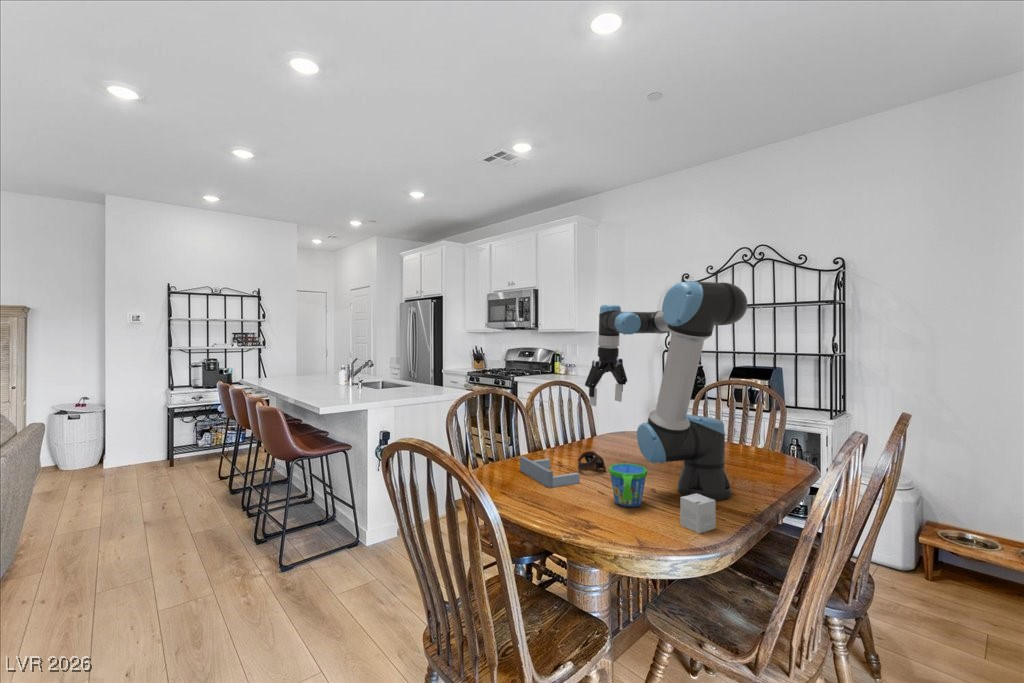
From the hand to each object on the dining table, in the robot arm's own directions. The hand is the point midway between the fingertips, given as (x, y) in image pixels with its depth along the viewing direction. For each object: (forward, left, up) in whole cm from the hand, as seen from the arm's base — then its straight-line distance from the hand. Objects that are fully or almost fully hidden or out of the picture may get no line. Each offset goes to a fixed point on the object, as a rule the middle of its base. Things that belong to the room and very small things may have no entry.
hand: (605, 403), depth 178 cm
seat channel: (-14, +24, -23) cm, 36 cm away
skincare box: (-60, -7, -23) cm, 64 cm away
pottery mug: (-8, +8, -23) cm, 26 cm away
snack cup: (-42, +5, -23) cm, 48 cm away
